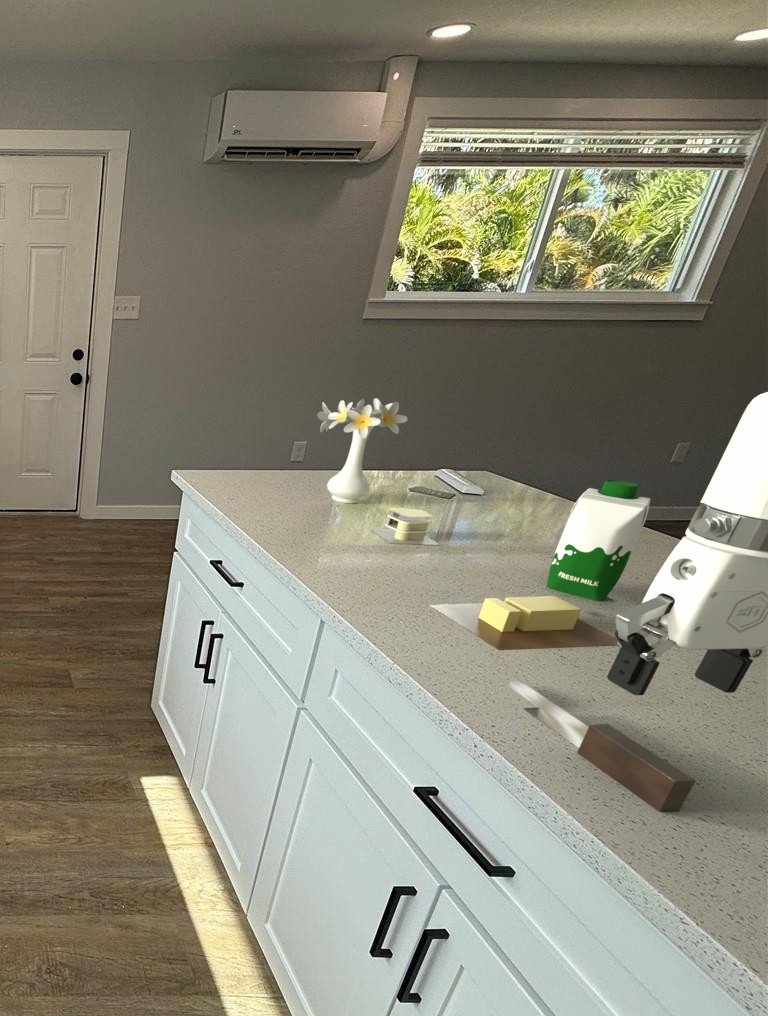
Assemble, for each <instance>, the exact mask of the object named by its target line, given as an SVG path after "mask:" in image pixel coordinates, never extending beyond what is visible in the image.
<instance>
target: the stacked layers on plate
mask: <svg viewBox="0 0 768 1016" xmlns="http://www.w3.org/2000/svg"><path fill="white" fill-rule="evenodd" d="M388 510H389V511H391V512H389V513H388V514H387V517H388V520H387V521H386V522H385V523H384V526H386V527H387V528H379V527H378V528H376V527H373V528H372V527H369V530H371V531H372V532H373V533H374V534H376V535H377V536H379V537H380V538H381V539H383V541H386V542H387V543H388V544H400V545H401V544H402V545H428V546H430V545H431V546H440V545H441V544H440V543H439V542H437V541H435V540H433V538H430V537H429V536H427V533H429V532H430V530H428V526H429V524H432V520H430V519H428V518H429V517H433V515H432V514H431V513H429V512H427V511H425V510H423V509H416V508H415V509H414V508H405V507H390V508H389V509H388ZM426 517H427V518H426Z"/></svg>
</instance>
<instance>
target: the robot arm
mask: <svg viewBox="0 0 768 1016" xmlns="http://www.w3.org/2000/svg"><path fill="white" fill-rule="evenodd" d="M615 629H616V630H615V632H614V637H615V638H617V639H618V642H617V645H618V646H617V647H618V648H619V650H618V652H617V654H616V657H615V659H614V662H613V663H612V665H611V667H610V669H609V671H608V673H607V676H606V677H607V680H608V681H609V682H611V683H613V684H614V685H616V686H618V687H620V688H621V689H623V690H625V691H627V692H628V693H630V694H632V695H634V696H643V695H645V693H646V692H647V689H648V688H649V685H650V683H651V682H652V680H653V677H654V675H655V674H656V672H657V670H658V668H659V666H660V663H661V662H660V661H658V660H656V659H657V658H659V657H660V656H661V655H663V654H664V653H665V652H667V651H668V650H670V649H671V648H672V647H674V646H675V645H677V646H679V647H680V648H682V649H685V650H690V651H691V650H693V651H694V650H695V651H696V650H699V651H700V650H702V651H704V650H705V651H706V652H705V654H704V656H703V658H702V659H701V661H700V663H699V665H698V667H697V669H696V670H695V672H694V676H695V678H697V679H698V680H700V681H701V682H704V683H705V684H708V685H710V686H711V687H714V688H715V689H718V690H720V691H721V692H723V693H727V694H730V693H731V694H733V693H735V692H736V691H737V689H738V687H739V686H740V684H741V682H743V679H744V677H745V676H746V674H747V672H748V670H749V668H750V667H751V665H752V663H753V662H754V659H758V658H760V657H761V656H762V655H763V654H764V647H768V391H766V392H764V393H761V394H758V395H757V396H756V397H754V398H753V399H752V400H751V401H750V403H748V405H747V406H746V408H745V410H744V412H743V413H742V415H741V417H740V419H739V421H738V423H737V426H736V428H735V430H734V432H733V434H732V436H731V438H730V440H729V442H728V444H727V446H726V447H725V450H724V452H723V455H722V456H721V459H720V461H719V463H718V464H717V467H716V469H715V471H714V473H713V475H712V477H711V479H710V482H709V484H708V485H707V487H706V490H705V492H704V494H703V496H702V498H701V500H700V502H699V504H698V506H697V508H696V509H695V512H694V514H693V516H692V519H691V521H690V523H689V525H688V527H687V528H686V530H685V536H683V537H682V538H681V540H680V541H679V542H678V543H677V545H676V546H675V547H674V549H673V550H672V551H671V553H670V554H669V556H668V557H667V559H666V560H665V562H664V563H663V564H662V566H661V568H660V569H659V571H658V572H657V574H656V575H655V577H654V579H653V580H652V583H651V584H650V586H649V588H648V589H647V592H646V594H645V596H644V598H643V599H642V602H641V603H639V604H636V605H634V606H632V607H629V608H626V609H624V610H622V611H620V612H618V613H617V614H616V615H615ZM666 630H667V631H666ZM649 635H651V636H653V637H655V638H658V639H657V640H655V641H653V642H652V643H651V644H649V643H648V641H647V640H646V637H647V636H649Z"/></svg>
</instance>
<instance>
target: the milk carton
mask: <svg viewBox="0 0 768 1016" xmlns="http://www.w3.org/2000/svg"><path fill="white" fill-rule="evenodd" d="M639 486H640V485H639V484H638V483H635V482H632V481H628V480H621V479H606V480H604V483H603V485H602V488H598V489H596V488H592V487H588V488H587V489H586V490H585V491H584V492H583V493H582V494H581V495H580V496H579V498H578V499H577V500H576V502H575V503H574V505H573V506H572V509H571V510H570V513H569V514H570V515H569V517H568V519H567V522H566V524H565V526H564V529H563V532H562V534H561V536H560V539H559V542H558V544H557V547H556V549H555V552H554V555H553V557H552V560H551V563H550V567H549V572H548V576H547V582H546V586H545V587H546V588H548V589H549V590H552V591H556V592H560V593H565V594H568V595H572V596H576V597H580V598H584V599H587V600H592V601H594V602H604V601H605V600H606V599H607V597H608V596H609V595H610V593H611V592H612V590H613V589H614V588H615V586H616V585H617V583H618V582H619V580H620V579H621V577H622V575H623V573H624V571H625V569H626V566H627V565H628V562H629V560H630V557H631V555H632V553H633V550H634V548H635V546H636V544H637V542H638V539H639V538H640V536H641V535H640V534H641V532H642V529H643V527H644V525H645V522H646V519H647V517H648V514H649V509H650V504H651V498H650V497H644V496H640V495H636V494H637V492H638V489H639Z"/></svg>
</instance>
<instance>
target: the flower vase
mask: <svg viewBox="0 0 768 1016" xmlns="http://www.w3.org/2000/svg"><path fill="white" fill-rule="evenodd" d="M365 403H366V402H365V399H364V398H362V399H361V400H359V401H358V402H357V404H356V406H355V407H352V406H353V404H354V402H353V401H351V402H349V403H348V404H347V405H346V402H345V400H343V399H342V400H340V401H339V403H338V406H337V410H338V411H333V412H331V411H330V410H329V409H328V406H327V405H326V403H325V402H322V404H321V405H322V407H321V408H322V411H318V413H317V418H318V419H319V420H320V421H323V422H321V425H320V428H319V432H320V433H323V432H324V430H325V432H328V430H331V429H333V428H334V427H336V426H337V425H339V424H340V425H341V424H344V423H348V422H349V423H348V424H346V425H345V426H344V428H343V432H344V433H351V432H352V438H351V439H352V440H351V445H350V448H349V451H348V455H347V459H346V461H345V464H344V465H343V466H342V468H341V470H340V471H339V472H338V473H336V474H335V475H333V476H332V477H331V478H330V479H329V480H328V482H327V484H326V488H327V491H328V493H330V494H331V499H332V500H333V501H335V502H338V503H342V504H343V503H344V504H358V503H359V502H360V501H361V499H363V498H365V497H366V496H367V495H368V494H369V493H371V486H370V482H369V481H368V479H367V478H366V477H365V475H364V471H363V460H364V454H365V449H366V445H367V441H368V438H369V436H370V434H371V432H372V430H373V429H374V428H375V427H376V426H378V427H380V428H386V427H388V428H389V429H390V431H392V433H394V434H396V435H398V434H399V433H400V429H399V426H398V424H403V423H406V422H408V421H409V420H408V417H407V416H406V415H404V414H397V413H398V411H399V408H400V404H399V402H398V401H394V402H391V403H387V404H386V405H383V404H382V402H381V401H380V399H379V398H376V397H375V398H373V402H372V404H373V407H372V405H371V404H367V405H365ZM364 405H365V406H364Z"/></svg>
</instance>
